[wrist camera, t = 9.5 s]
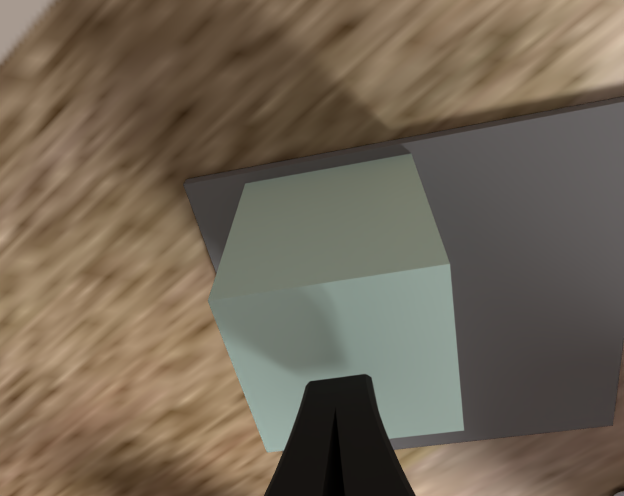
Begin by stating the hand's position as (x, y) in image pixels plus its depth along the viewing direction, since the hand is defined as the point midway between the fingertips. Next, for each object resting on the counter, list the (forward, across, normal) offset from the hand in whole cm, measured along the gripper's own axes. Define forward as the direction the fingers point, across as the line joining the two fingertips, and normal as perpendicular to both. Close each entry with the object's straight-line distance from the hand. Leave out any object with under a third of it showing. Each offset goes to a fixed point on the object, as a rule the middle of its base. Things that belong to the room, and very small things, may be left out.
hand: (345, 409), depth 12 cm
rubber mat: (+8, -2, +4) cm, 9 cm away
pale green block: (+7, 0, 0) cm, 7 cm away
